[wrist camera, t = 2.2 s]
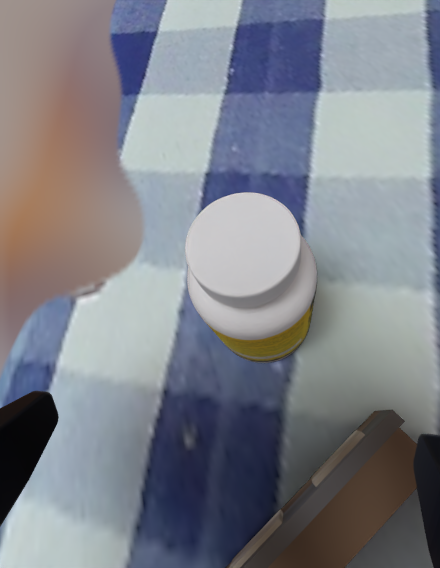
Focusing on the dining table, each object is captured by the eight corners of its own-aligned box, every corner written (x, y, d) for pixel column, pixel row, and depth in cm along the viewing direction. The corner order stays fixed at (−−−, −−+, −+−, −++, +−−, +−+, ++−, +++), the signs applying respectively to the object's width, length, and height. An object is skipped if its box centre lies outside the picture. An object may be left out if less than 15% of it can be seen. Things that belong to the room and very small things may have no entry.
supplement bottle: (326, 345, 20) (352, 285, 11) (234, 377, 20) (184, 344, 11) (290, 262, 22) (286, 153, 13) (208, 292, 22) (148, 207, 13)
